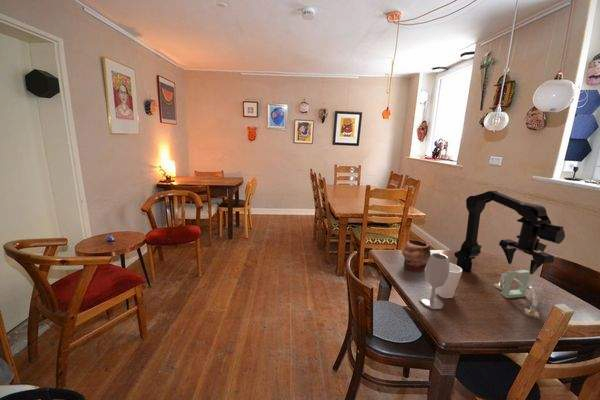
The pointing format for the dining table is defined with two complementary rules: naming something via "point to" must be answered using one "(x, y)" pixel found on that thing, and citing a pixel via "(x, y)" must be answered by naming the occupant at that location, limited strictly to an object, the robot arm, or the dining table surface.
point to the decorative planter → (416, 255)
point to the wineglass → (435, 278)
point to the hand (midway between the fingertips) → (520, 268)
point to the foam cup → (450, 282)
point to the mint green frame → (508, 281)
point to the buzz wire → (531, 311)
